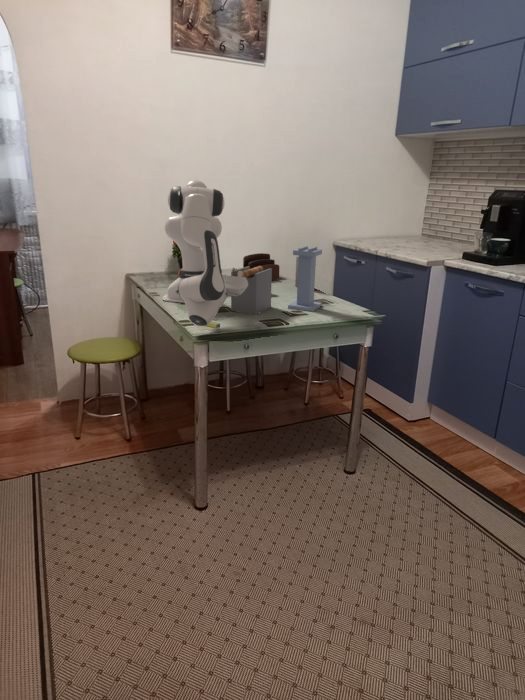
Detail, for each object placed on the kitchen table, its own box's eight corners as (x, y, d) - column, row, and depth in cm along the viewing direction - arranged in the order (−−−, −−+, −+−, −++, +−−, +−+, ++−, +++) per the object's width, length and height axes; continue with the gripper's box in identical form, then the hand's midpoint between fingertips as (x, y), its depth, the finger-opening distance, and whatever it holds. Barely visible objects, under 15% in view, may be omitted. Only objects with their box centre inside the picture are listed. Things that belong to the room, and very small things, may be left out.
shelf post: (313, 311, 224) (316, 250, 215) (287, 308, 229) (290, 248, 220) (321, 305, 234) (325, 247, 226) (297, 302, 239) (299, 245, 230)
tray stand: (255, 314, 217) (256, 274, 212) (231, 311, 222) (231, 271, 216) (270, 306, 231) (271, 268, 225) (247, 303, 236) (247, 266, 230)
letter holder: (242, 279, 294) (242, 254, 289) (268, 275, 306) (269, 252, 301) (253, 281, 286) (253, 256, 282) (279, 278, 298) (280, 254, 294)
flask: (304, 291, 265) (305, 256, 259) (293, 285, 277) (294, 252, 272) (310, 290, 266) (312, 256, 260) (299, 285, 279) (300, 252, 273)
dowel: (238, 282, 208) (242, 276, 206) (232, 277, 208) (236, 272, 207) (260, 274, 227) (264, 268, 225) (255, 269, 227) (259, 264, 226)
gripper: (238, 289, 188) (252, 266, 197) (191, 284, 196) (206, 262, 204) (241, 302, 193) (255, 279, 201) (195, 296, 201) (210, 274, 209)
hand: (230, 271), depth 203 cm, fingers open, 8 cm apart
